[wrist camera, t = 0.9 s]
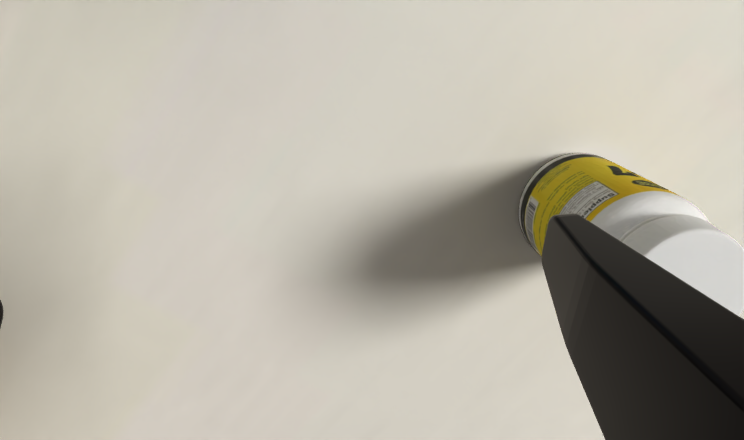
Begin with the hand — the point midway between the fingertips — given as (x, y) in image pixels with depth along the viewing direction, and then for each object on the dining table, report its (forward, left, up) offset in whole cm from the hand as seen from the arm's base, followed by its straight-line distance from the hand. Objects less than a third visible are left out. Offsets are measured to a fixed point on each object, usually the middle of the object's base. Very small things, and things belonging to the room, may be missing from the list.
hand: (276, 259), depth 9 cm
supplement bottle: (+1, -12, -14) cm, 19 cm away
